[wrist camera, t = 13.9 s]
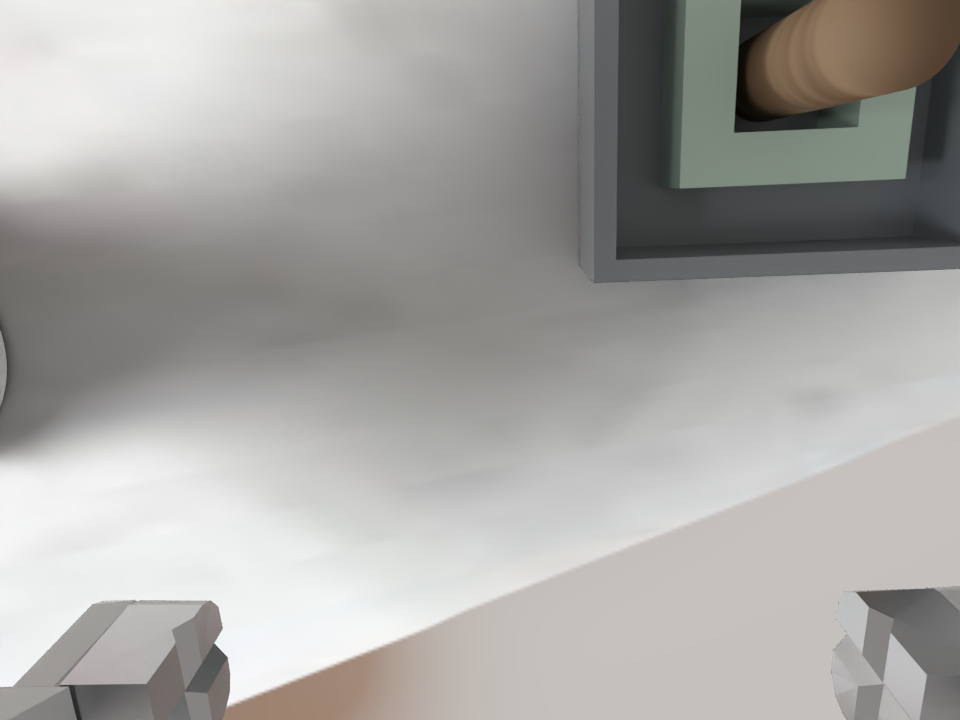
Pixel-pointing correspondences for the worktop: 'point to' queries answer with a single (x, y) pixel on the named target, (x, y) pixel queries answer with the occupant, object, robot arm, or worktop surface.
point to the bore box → (749, 157)
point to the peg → (843, 54)
